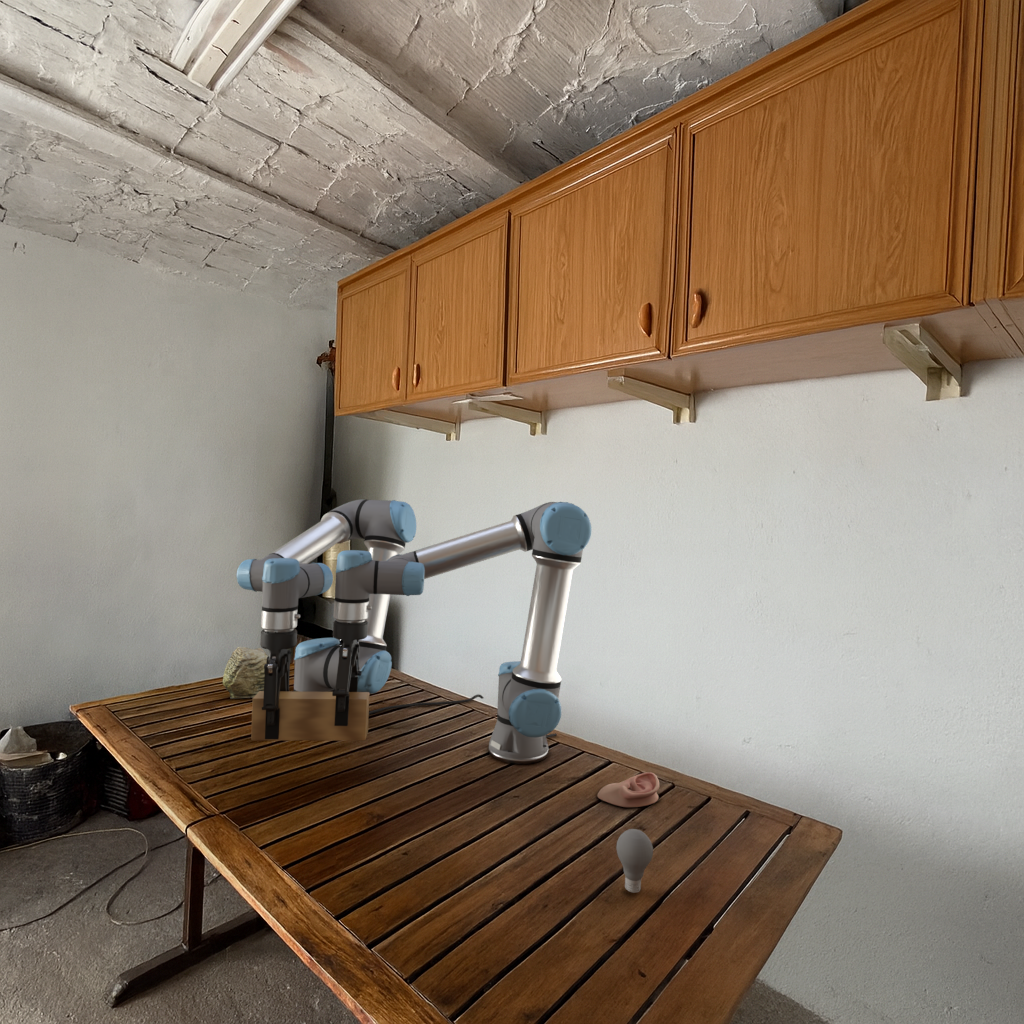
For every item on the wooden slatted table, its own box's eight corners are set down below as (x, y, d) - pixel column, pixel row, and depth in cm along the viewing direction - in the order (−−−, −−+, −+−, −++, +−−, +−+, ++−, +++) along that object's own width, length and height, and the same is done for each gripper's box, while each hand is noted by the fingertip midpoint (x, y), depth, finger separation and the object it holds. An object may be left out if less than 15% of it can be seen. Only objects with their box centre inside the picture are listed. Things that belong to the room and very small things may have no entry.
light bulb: (610, 879, 108) (613, 822, 108) (644, 879, 109) (647, 822, 109) (619, 902, 102) (622, 840, 102) (655, 901, 103) (658, 840, 103)
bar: (250, 740, 137) (252, 698, 137) (258, 731, 142) (259, 690, 142) (365, 740, 140) (366, 699, 139) (367, 731, 145) (369, 692, 145)
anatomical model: (597, 785, 136) (600, 763, 147) (596, 803, 136) (599, 780, 147) (660, 793, 133) (659, 771, 144) (659, 812, 133) (658, 788, 144)
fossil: (218, 695, 195) (220, 647, 195) (278, 685, 208) (279, 640, 207) (228, 703, 189) (230, 653, 188) (289, 692, 201) (290, 645, 201)
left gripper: (286, 638, 131) (282, 749, 131) (305, 621, 149) (301, 719, 149) (248, 637, 130) (244, 749, 130) (272, 620, 148) (269, 718, 149)
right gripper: (361, 632, 129) (355, 735, 129) (374, 610, 154) (369, 697, 154) (323, 631, 128) (317, 734, 129) (342, 609, 153) (337, 696, 153)
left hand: (275, 733), depth 140 cm, fingers closed on bar, 5 cm apart
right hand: (346, 714), depth 141 cm, fingers open, 13 cm apart
